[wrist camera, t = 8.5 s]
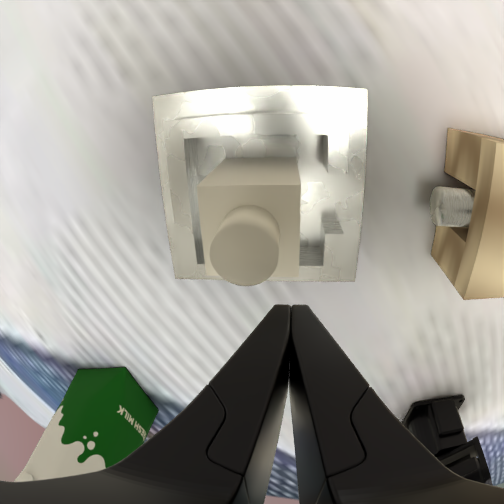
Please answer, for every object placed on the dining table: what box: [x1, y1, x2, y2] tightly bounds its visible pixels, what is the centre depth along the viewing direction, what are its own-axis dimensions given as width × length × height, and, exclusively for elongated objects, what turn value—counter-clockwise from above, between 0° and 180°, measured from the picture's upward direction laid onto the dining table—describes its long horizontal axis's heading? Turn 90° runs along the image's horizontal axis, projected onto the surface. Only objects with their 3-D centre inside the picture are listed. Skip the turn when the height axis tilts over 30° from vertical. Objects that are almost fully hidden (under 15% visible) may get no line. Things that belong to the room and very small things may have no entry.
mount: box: [431, 128, 504, 300], centre depth 15 cm, size 9×5×5 cm, turn 2°
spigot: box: [197, 157, 301, 286], centre depth 15 cm, size 4×4×8 cm
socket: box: [152, 86, 367, 282], centre depth 17 cm, size 12×12×3 cm
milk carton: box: [14, 367, 159, 482], centre depth 21 cm, size 9×9×20 cm
